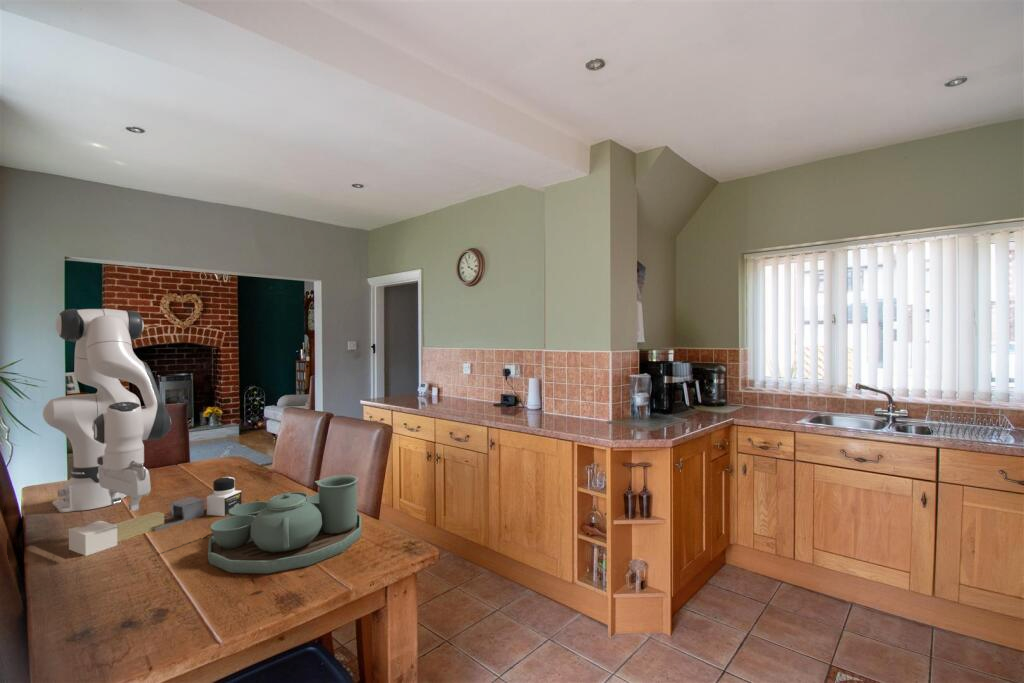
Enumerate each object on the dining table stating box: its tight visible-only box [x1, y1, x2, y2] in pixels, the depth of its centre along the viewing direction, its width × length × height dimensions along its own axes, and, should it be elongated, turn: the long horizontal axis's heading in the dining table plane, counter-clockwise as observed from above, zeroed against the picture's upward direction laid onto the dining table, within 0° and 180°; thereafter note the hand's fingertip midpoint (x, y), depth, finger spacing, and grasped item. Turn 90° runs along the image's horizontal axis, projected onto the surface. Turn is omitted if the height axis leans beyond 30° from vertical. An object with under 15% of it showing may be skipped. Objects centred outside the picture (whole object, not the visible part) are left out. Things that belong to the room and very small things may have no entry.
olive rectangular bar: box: [113, 511, 165, 543], centre depth 136 cm, size 4×16×4 cm, turn 154°
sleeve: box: [153, 496, 205, 532], centre depth 147 cm, size 8×14×6 cm, turn 154°
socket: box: [68, 519, 118, 557], centre depth 129 cm, size 9×7×6 cm
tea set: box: [207, 474, 362, 575], centre depth 135 cm, size 40×40×16 cm
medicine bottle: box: [206, 476, 242, 517], centre depth 155 cm, size 7×7×12 cm
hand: (124, 507), depth 136 cm, fingers open, 8 cm apart
